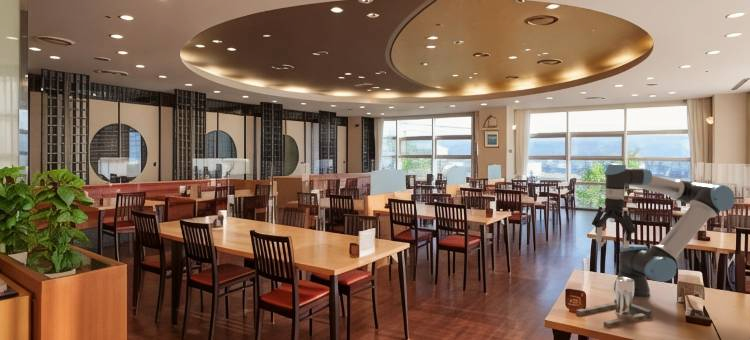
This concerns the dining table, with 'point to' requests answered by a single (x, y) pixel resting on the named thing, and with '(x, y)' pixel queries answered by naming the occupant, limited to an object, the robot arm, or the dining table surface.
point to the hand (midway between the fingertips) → (612, 244)
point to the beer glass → (624, 295)
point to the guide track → (635, 309)
